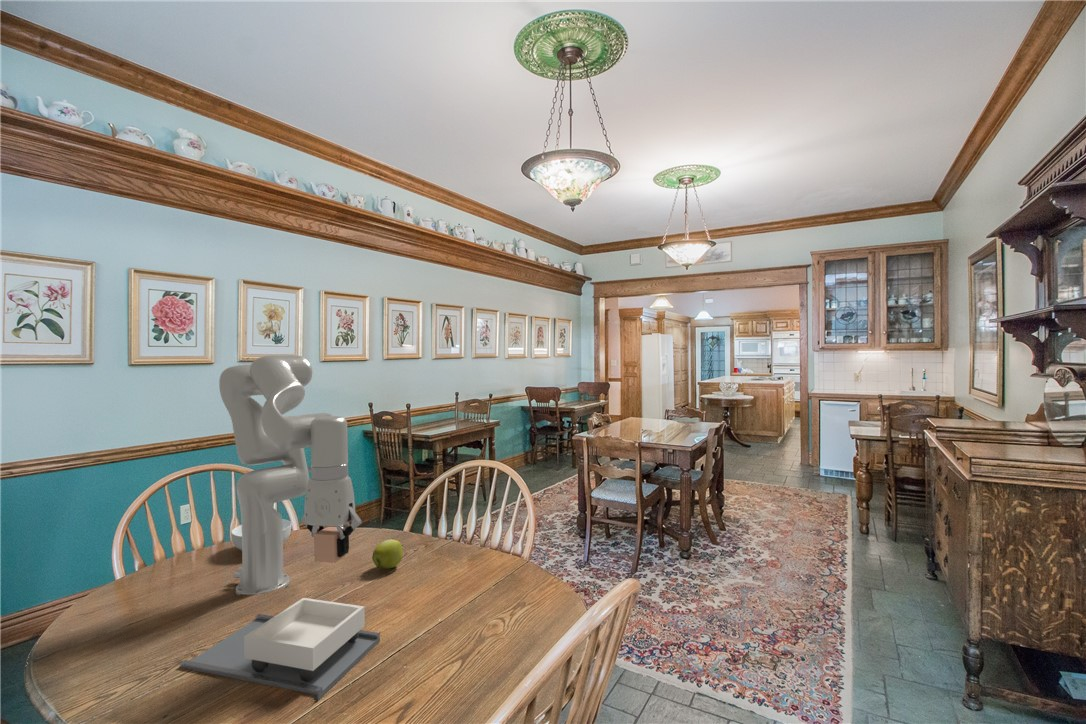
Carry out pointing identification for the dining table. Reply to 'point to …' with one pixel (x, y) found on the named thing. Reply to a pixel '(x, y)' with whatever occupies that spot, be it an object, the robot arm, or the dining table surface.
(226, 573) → the dining table surface
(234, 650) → the track
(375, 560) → the apple
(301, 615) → the cart
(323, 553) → the block
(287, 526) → the cereal bowl
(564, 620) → the dining table surface
